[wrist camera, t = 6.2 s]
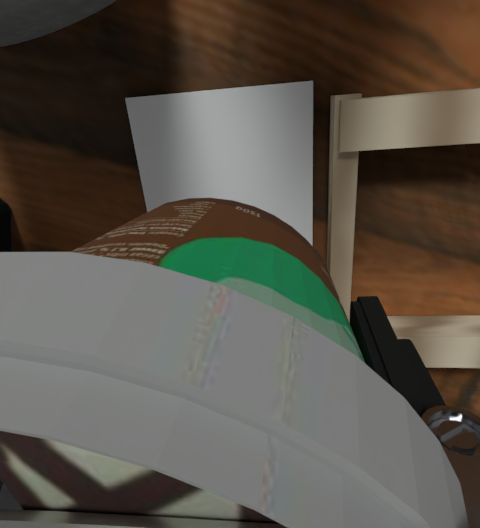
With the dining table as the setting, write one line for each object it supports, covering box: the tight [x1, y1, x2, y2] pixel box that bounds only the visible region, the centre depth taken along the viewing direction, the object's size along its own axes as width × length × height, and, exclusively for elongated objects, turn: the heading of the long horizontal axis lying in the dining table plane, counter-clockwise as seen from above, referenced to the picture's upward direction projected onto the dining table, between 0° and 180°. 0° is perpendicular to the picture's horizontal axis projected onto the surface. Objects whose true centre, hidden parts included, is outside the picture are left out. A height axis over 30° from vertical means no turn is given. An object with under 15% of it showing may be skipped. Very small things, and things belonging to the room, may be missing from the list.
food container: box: [0, 198, 469, 528], centre depth 9 cm, size 12×6×10 cm, turn 16°
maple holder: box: [327, 88, 480, 368], centre depth 26 cm, size 13×21×3 cm, turn 5°
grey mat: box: [125, 81, 313, 245], centre depth 27 cm, size 13×13×1 cm
